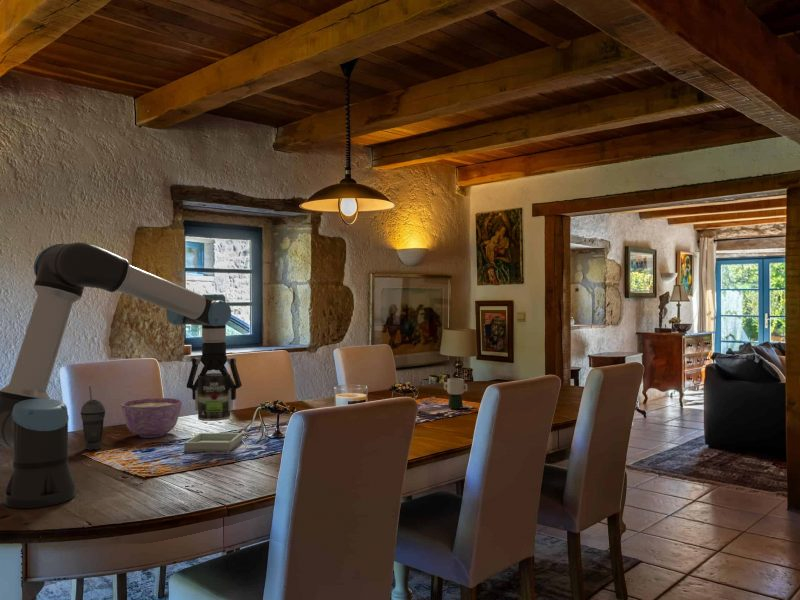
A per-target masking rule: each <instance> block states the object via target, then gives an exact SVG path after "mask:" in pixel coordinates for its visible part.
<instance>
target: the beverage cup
mask: <svg viewBox="0 0 800 600" xmlns="http://www.w3.org/2000/svg"><path fill="white" fill-rule="evenodd" d="M91 386H92V385H89V386H88V390H89V399H90V400H88V401H85V403H83V405H82V407H81V409H80V410H81V411H80V417H81V420H82V430H83V441H84V449H85V450H86V449H88V450H87V451H93V450H92V449H96V450H99V449H98V448H100V449H101V448H102V441H103V433H104V432H103V431H104V419H105V416H106V408H105V405H104V403H102V402H101V401H100V400H98V399H93V396H92V395H93V394H92V389H91V388H92V387H91ZM89 449H90V450H89Z"/></svg>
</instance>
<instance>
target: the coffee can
mask: <svg viewBox="0 0 800 600" xmlns="http://www.w3.org/2000/svg"><path fill="white" fill-rule="evenodd" d="M199 375H200V374H198V375H197V378H198V411H197V413H198V415H197V420H198V421H202V422H203V421H204V422H218V421H225V420H228V419H230V418H231V411H228V390H230V387H229V385H228V378H230V377H231V375H232V374H230V373H229V375H228V376H223V375H222V373H221V372H213V373H206V375H204V376H199ZM231 378H232V377H231Z"/></svg>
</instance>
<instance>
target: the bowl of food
mask: <svg viewBox="0 0 800 600" xmlns="http://www.w3.org/2000/svg"><path fill="white" fill-rule="evenodd" d="M182 402H183V400H181V399H178V398H171V397H170V398H169V397H156V398H155V397H153V398H152V397H151V398H140V399H132V400H128V401H123V402H122V403H121V404H120V407H121V409H122V413H123V418H124V421H125V425H126V427H127V429H128V430H129V431H130V433H133V434H135V435H139V437H140V438H145V439H151V438H152V439H153V438H159V437H163V436H165V434H166V433H169V432H171V431H172V430H173V429H174V428H175V426H176V425H177V423H178V420H179V416H180V412H181V407H182Z"/></svg>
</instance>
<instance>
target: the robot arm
mask: <svg viewBox="0 0 800 600" xmlns="http://www.w3.org/2000/svg"><path fill="white" fill-rule="evenodd" d="M33 274H34V275H35V279H34V280H35V281H34V284H33V288H34V290H35V292H36V294H37V297H36V300H35V303H34V306H33V309H32V311H31V315H30V318H29V322H28V325H27V326H26V327H27V328H26V330H25V334H24V337H23V341H22V343H21V346H20V349H19V353H18V356H17V359H16V362H15V365H14V369H13V371H12V374H11V378H10V381H9V384H8V385H6V386H4V387H2V388H0V447H4V448H8V449H11V450H12V471H11V474H10V476H9V480H8V484H7V485H6V488H5V491H4V495H3V499H4V500H3V501H4V502H3V503H4V504H3V505H4V506H5V507H7V508H13V509H35V508H37V509H38V508H44V507H45V508H46V507H51V506H54V505H57V504H58V505H59V504H62V503H64V502H68V501H70V500H72V499H74V498H75V497H76V495H77V488H76V486H77V485H76V482H75V479H74V478H73V474H72V471H71V469H70V466H69V457H68V456H69V449H68V448H69V414H68V407H67V404H65V403H64V402H63V401H60V400H57V399H53V398H51V397H50V396H49V394H48V393H47V389H48V386H49V381H50V379H51V376H52V372H53V369H54V366H55V364H56V363H55V362H56V359H57V356H58V353H59V350H60V347H61V344H62V340H63V337H64V333H65V331H66V328H67V324H68V321H69V318H70V315H71V314H70V313H71V311H72V308H73V304H75V303H76V302H78V301H80V300H81V299H82V296H83V293H84V290H85V288H93V289H94V288H95V289H101V290H104V291H107V292H109V293H115V292H120V293H123V294H125V295H129V296H131V297H134V298H136V299H139V300H141V301H144V302H147V303H149V304H152V305H154V306H156V307H157V306H158V307H160V308H162V309H166V311H165V312H166V318H167V321H168V322H169V324H171V325H174V326H175V325H177V326H182V325H184V326H185V325H188V326H189V325H191V326H192V325H193V326H201V340H202V341H203V342H201V357H193V358H192V359H191V363H192V364H191V369H190V373H189V376H188V379H187V383H186V388H187V389H190V390H191V391H192V395H191V396H192V400H193V401H195V402H194V403H195V406H194V407H195V409H194V410H195V411H197V412H198V377H197V378H196V375H197V371H198V368H199V365H200V363H201V364H202V365H203V367H202V368H201V371H200V372H199V373H200V374H198V375H199V376H204V375H206V374H208V372H209V371H219V373H222V375H223V376H228V375H229V374H230V373H229V372H228V370H227V367H226V365H225V364H226V363H228V365H229V367H230V370H231V375H232V376H233V377H230V378H228V385H229V387H230V390H228V411H230V412H231V411H233V410H234V401H235V400H236V399H237V390H238V389H240V388H242V380H241V379H240V374H239V371H238V368H237V358H236V357H228V356H227V343H226V342H225V341H226V340H227V327H226V326H227V325H226V324H227V323H228V322H229V321H230V320H231V317H232V309H231V306H230V305H229V304H228V303H227V302H226V301H227V300H226V296H225V295H224V294H223V293H213V294H211V293H210V294H209V293H204V294H200V293H197V292H196V291H195V292H194V291H192V290H191V289H190V290H189V289H188V288H185V287H183V286H181V285H178V284H176V283H174V282H171V281H169V280H166V279H165V278H162V277H159V276H157V275H155V274H152V273H150V272H147V271H146V270H142V269H141V268H138V267H135V266H133V265H131V264H130V262H129V261H128V259H127V258H124V257H122V256H119V255H117V254H115V253H113V252H111V251H108V250H106V249H104V248H103V247H99V246H97V245H94V244H91V243H87V242H81V241H80V242H73V243H57V244H53V245H51V246H48V247H46V248H44V249H42V250H41V251H40V252H39V253H38V254H37V256H36V257H35V260H34V262H33ZM195 378H196V380H195Z"/></svg>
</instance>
